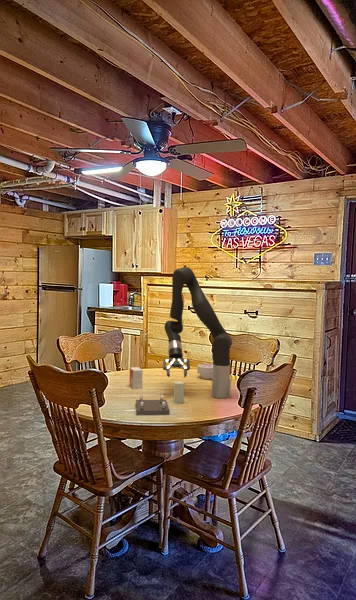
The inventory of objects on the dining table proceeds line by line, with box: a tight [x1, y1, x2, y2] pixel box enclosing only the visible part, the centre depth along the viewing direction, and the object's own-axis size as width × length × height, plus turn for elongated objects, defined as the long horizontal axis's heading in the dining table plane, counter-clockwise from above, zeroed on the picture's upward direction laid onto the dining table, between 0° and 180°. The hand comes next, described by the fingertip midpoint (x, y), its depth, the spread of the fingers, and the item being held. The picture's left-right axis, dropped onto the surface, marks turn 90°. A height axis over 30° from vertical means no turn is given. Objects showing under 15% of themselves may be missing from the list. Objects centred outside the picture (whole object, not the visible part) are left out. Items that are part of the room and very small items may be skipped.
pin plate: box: [135, 394, 170, 416], centre depth 199 cm, size 15×17×5 cm
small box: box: [128, 366, 144, 390], centre depth 239 cm, size 8×6×10 cm
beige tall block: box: [172, 380, 185, 405], centre depth 212 cm, size 4×5×10 cm
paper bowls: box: [196, 363, 213, 380], centre depth 266 cm, size 15×15×8 cm
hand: (177, 376), depth 219 cm, fingers open, 8 cm apart
